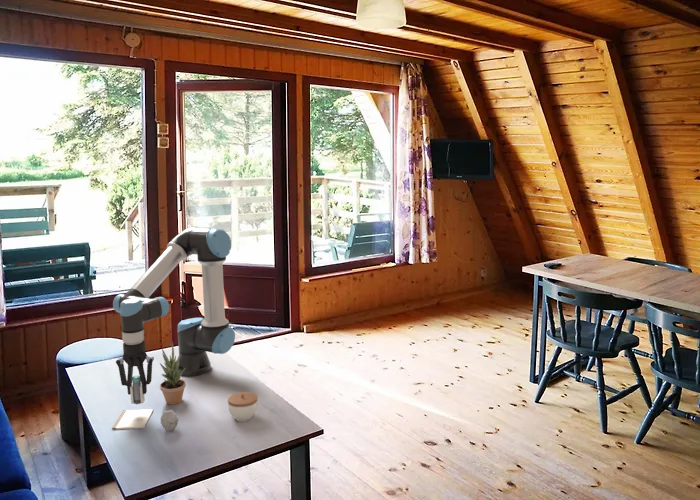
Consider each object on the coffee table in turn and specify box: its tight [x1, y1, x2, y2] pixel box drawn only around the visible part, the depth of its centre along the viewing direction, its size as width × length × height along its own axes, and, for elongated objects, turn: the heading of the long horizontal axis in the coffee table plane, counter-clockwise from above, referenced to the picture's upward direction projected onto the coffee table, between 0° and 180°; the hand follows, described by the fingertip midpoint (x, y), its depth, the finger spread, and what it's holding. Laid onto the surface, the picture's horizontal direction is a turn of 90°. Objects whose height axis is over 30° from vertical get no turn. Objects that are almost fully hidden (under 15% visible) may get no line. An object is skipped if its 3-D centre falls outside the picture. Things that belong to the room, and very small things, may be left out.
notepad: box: [111, 408, 154, 430], centre depth 216 cm, size 11×14×1 cm
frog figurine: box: [160, 409, 179, 432], centre depth 208 cm, size 6×7×7 cm
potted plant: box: [159, 341, 186, 405], centre depth 230 cm, size 10×10×25 cm
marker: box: [132, 375, 142, 405], centre depth 219 cm, size 3×3×10 cm
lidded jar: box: [227, 391, 258, 422], centre depth 217 cm, size 11×11×9 cm
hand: (138, 401), depth 220 cm, fingers closed on marker, 3 cm apart
